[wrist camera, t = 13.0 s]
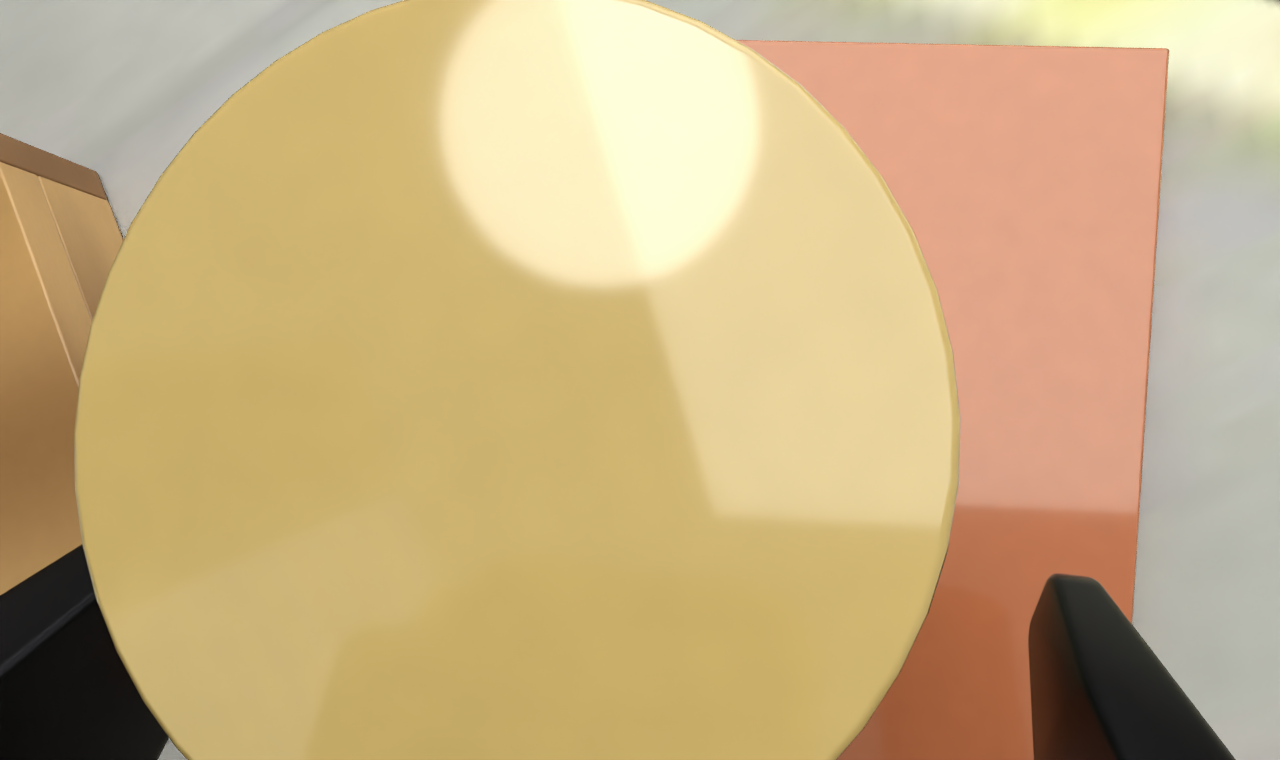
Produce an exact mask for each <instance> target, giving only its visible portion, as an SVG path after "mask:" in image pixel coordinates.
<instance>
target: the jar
mask: <svg viewBox="0 0 1280 760" xmlns="http://www.w3.org/2000/svg"><path fill="white" fill-rule="evenodd" d="M960 433H961V414H960V405H959V396H958V387H957V378H956V369H955V360H954V352H953V348H952V344H951V340H950V336H949V332H948V328H947V324H946V320H945V316H944V312H943V308H942V304H941V301H940V297H939V293H938V289H937V287H936V284H935V282H934V279H933V277H932V274H931V272H930V269H929V267H928V264H927V262H926V259H925V257H924V255H923V252H922V250H921V247H920V245H919V242H918V240H917V237H916V235H915V232H914V230H913V228H912V227H911V225H910V223H909V221H908V220H907V218H906V216H905V214H904V213H903V211H902V209H901V207H900V206H899V204H898V202H897V200H896V199H895V197H894V195H893V194H892V192H891V190H890V188H889V187H888V185H887V183H886V181H885V180H884V178H883V176H882V175H881V174H880V172H879V171H878V170H877V168H876V167H875V166H874V165H873V163H872V162H871V161H870V159H869V158H868V157H867V156H866V154H865V153H864V152H863V150H862V149H861V148H860V146H859V145H858V144H857V143H856V141H855V140H854V139H853V137H852V136H851V135H850V134H849V132H848V131H847V130H846V128H845V127H844V126H843V125H842V124H841V123H840V122H839V121H838V120H837V119H836V118H835V117H834V116H832V115H831V114H830V113H829V112H828V111H827V110H826V109H825V108H824V107H823V106H822V105H821V104H820V103H819V102H818V101H817V100H816V99H815V98H814V97H813V96H812V95H811V94H810V93H809V92H808V91H807V90H806V89H805V88H804V87H803V86H802V85H801V84H799V83H798V82H796V81H795V80H794V79H792V78H791V77H790V76H788V75H787V74H786V73H784V72H783V71H782V70H780V69H779V68H778V67H776V66H775V65H773V64H772V63H771V62H769V61H768V60H767V59H765V58H764V57H763V56H761V55H760V54H759V53H757V52H756V51H755V50H753V49H751V48H749V47H747V46H746V45H744V44H742V43H740V42H738V41H736V40H735V39H733V38H731V37H729V36H727V35H725V34H724V33H722V32H720V31H718V30H716V29H714V28H713V27H711V26H709V25H707V24H705V23H703V22H701V21H699V20H696V19H693V18H691V17H688V16H685V15H683V14H680V13H678V12H675V11H672V10H670V9H667V8H664V7H662V6H659V5H656V4H654V3H651V2H648V1H646V0H404V1H400V2H397V3H394V4H391V5H387V6H384V7H381V8H378V9H374V10H371V11H369V12H367V13H365V14H363V15H360V16H358V17H356V18H354V19H351V20H349V21H347V22H345V23H343V24H340V25H338V26H336V27H334V28H331V29H329V30H327V31H325V32H323V33H321V34H319V35H318V36H316V37H314V38H313V39H311V40H309V41H308V42H306V43H304V44H303V45H301V46H299V47H298V48H296V49H295V50H293V51H291V52H290V53H288V54H286V55H285V56H283V57H281V58H280V59H278V60H276V61H275V62H274V63H272V64H271V65H270V66H269V67H267V68H266V69H265V70H264V71H262V72H261V73H260V74H258V75H257V76H256V77H255V78H253V79H252V80H251V81H250V82H248V83H247V84H246V85H245V86H243V87H242V88H241V89H239V90H238V91H237V92H236V93H234V94H233V95H232V96H231V97H230V98H229V99H228V100H227V101H226V102H225V103H224V104H223V105H222V106H221V107H220V108H219V109H218V110H217V111H216V112H215V113H214V114H213V115H212V116H211V117H210V118H209V119H208V120H207V121H206V122H205V123H204V124H203V125H202V126H201V127H200V128H199V129H198V130H197V131H196V132H195V133H194V134H193V135H192V137H191V138H190V139H189V141H188V142H187V143H186V144H185V146H184V147H183V148H182V149H181V151H180V152H179V153H178V155H177V156H176V157H175V158H174V160H173V161H172V162H171V163H170V165H169V166H168V167H167V168H166V170H165V171H164V172H163V174H162V175H161V176H160V178H159V179H158V181H157V182H156V184H155V186H154V187H153V189H152V191H151V192H150V194H149V195H148V197H147V199H146V200H145V202H144V204H143V205H142V207H141V208H140V210H139V212H138V213H137V215H136V217H135V218H134V220H133V221H132V223H131V225H130V227H129V230H128V232H127V234H126V236H125V238H124V240H123V242H122V245H121V247H120V249H119V251H118V253H117V255H116V257H115V259H114V262H113V264H112V266H111V268H110V270H109V272H108V275H107V278H106V281H105V284H104V287H103V290H102V293H101V296H100V299H99V302H98V305H97V308H96V311H95V314H94V317H93V320H92V323H91V326H90V331H89V336H88V340H87V345H86V350H85V354H84V359H83V364H82V368H81V373H80V378H79V387H78V398H77V408H76V418H75V428H74V463H75V493H76V501H77V508H78V516H79V523H80V531H81V538H82V545H83V549H84V553H85V557H86V561H87V565H88V568H89V572H90V576H91V580H92V584H93V588H94V592H95V596H96V599H97V602H98V605H99V607H100V610H101V612H102V615H103V617H104V620H105V623H106V625H107V628H108V630H109V633H110V636H111V638H112V641H113V643H114V646H115V648H116V651H117V653H118V655H119V657H120V658H121V660H122V662H123V664H124V666H125V668H126V670H127V672H128V673H129V675H130V677H131V679H132V681H133V683H134V685H135V687H136V688H137V690H138V692H139V694H140V696H141V698H142V700H143V701H144V703H145V704H146V706H147V707H148V708H149V710H150V711H151V713H152V714H153V715H154V717H155V718H156V720H157V721H158V723H159V724H160V725H161V727H162V728H163V730H164V731H165V732H166V734H167V735H168V737H169V738H170V740H171V741H172V742H173V744H174V745H175V747H176V748H177V749H178V750H179V751H180V752H181V753H182V754H183V755H184V757H185V758H186V759H187V760H837V759H838V758H839V757H840V756H841V755H842V754H843V752H844V751H845V750H846V749H847V748H848V747H849V746H850V744H851V743H852V742H853V741H854V740H855V739H856V738H857V736H858V735H859V734H860V733H861V732H862V731H863V730H864V728H865V727H866V725H867V724H868V722H869V721H870V719H871V718H872V716H873V714H874V713H875V711H876V710H877V708H878V707H879V705H880V704H881V702H882V701H883V699H884V698H885V696H886V695H887V693H888V692H889V690H890V688H891V687H892V685H893V684H894V682H895V681H896V679H897V678H898V676H899V675H900V673H901V671H902V669H903V667H904V664H905V662H906V660H907V658H908V656H909V654H910V652H911V650H912V647H913V645H914V643H915V641H916V639H917V637H918V635H919V633H920V630H921V628H922V626H923V624H924V622H925V620H926V618H927V616H928V613H929V610H930V607H931V604H932V601H933V597H934V594H935V591H936V588H937V584H938V581H939V578H940V575H941V572H942V568H943V565H944V562H945V559H946V555H947V552H948V548H949V542H950V536H951V530H952V524H953V518H954V512H955V506H956V500H957V494H958V488H959V470H960Z"/></svg>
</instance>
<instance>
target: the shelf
mask: <svg viewBox="0 0 1280 760" xmlns="http://www.w3.org/2000/svg"><path fill="white" fill-rule="evenodd" d="M122 242H123V238H122V235H121V233H120V230H119V228H118V225H117V222H116V220H115V217H114V215H113V212H112V209H111V207H110V204H109V202H108V201H107V197H106V194H105V191H104V189H103V186H102V184H101V181H100V178H99V176H98V173H97V172H96V171H93V170H91V169H88V168H86V167H83V166H81V165H78V164H76V163H73V162H71V161H68V160H66V159H63V158H61V157H58V156H56V155H53V154H51V153H48V152H46V151H43V150H41V149H38V148H36V147H33V146H31V145H28V144H26V143H23V142H21V141H18V140H16V139H13V138H11V137H8V136H6V135H3V134H1V133H0V595H1V594H3V593H5V592H6V591H8V590H9V589H11V588H13V587H14V586H16V585H17V584H19V583H21V582H22V581H24V580H25V579H27V578H29V577H30V576H32V575H33V574H35V573H37V572H38V571H40V570H41V569H43V568H45V567H46V566H48V565H49V564H51V563H53V562H54V561H56V560H57V559H59V558H61V557H62V556H64V555H65V554H67V553H69V552H70V551H72V550H73V549H75V548H77V547H78V546H80V545H81V544H82V538H81V531H80V523H79V516H78V508H77V501H76V493H75V463H74V428H75V418H76V408H77V398H78V387H79V378H80V373H81V368H82V364H83V359H84V354H85V350H86V345H87V340H88V336H89V331H90V326H91V323H92V320H93V317H94V314H95V311H96V308H97V305H98V302H99V299H100V296H101V293H102V290H103V287H104V284H105V281H106V278H107V275H108V272H109V270H110V268H111V266H112V264H113V262H114V259H115V257H116V255H117V253H118V251H119V249H120V247H121V245H122Z"/></svg>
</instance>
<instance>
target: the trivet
mask: <svg viewBox="0 0 1280 760" xmlns="http://www.w3.org/2000/svg"><path fill="white" fill-rule="evenodd" d="M736 41H738V42H740V43H742V44H744V45H746V46H747V47H749V48H751V49H753V50H755V51H756V52H757V53H759V54H760V55H761V56H763V57H764V58H765V59H767V60H768V61H769V62H771V63H772V64H773V65H775V66H776V67H778V68H779V69H780V70H782V71H783V72H784V73H786V74H787V75H788V76H790V77H791V78H792V79H794V80H795V81H796V82H798V83H799V84H801V85H802V86H803V87H804V88H805V89H806V90H807V91H808V92H809V93H810V94H811V95H812V96H813V97H814V98H815V99H816V100H817V101H818V102H819V103H820V104H821V105H822V106H823V107H824V108H825V109H826V110H827V111H828V112H829V113H830V114H831V115H832V116H834V117H835V118H836V119H837V120H838V121H839V122H840V123H841V124H842V125H843V126H844V127H845V128H846V130H847V131H848V132H849V134H850V135H851V136H852V137H853V139H854V140H855V141H856V143H857V144H858V145H859V146H860V148H861V149H862V150H863V152H864V153H865V154H866V156H867V157H868V158H869V159H870V161H871V162H872V163H873V165H874V166H875V167H876V168H877V170H878V171H879V172H880V174H881V175H882V176H883V178H884V180H885V181H886V183H887V185H888V187H889V188H890V190H891V192H892V194H893V195H894V197H895V199H896V200H897V202H898V204H899V206H900V207H901V209H902V211H903V213H904V214H905V216H906V218H907V220H908V221H909V223H910V225H911V227H912V228H913V230H914V232H915V235H916V237H917V240H918V242H919V245H920V247H921V250H922V252H923V255H924V257H925V259H926V262H927V264H928V267H929V269H930V272H931V274H932V277H933V279H934V282H935V284H936V287H937V289H938V293H939V297H940V301H941V304H942V308H943V312H944V316H945V320H946V324H947V328H948V332H949V336H950V340H951V344H952V348H953V352H954V360H955V369H956V378H957V387H958V396H959V405H960V414H961V433H960V470H959V488H958V494H957V500H956V506H955V512H954V518H953V524H952V530H951V536H950V542H949V548H948V552H947V555H946V559H945V562H944V565H943V568H942V572H941V575H940V578H939V581H938V584H937V588H936V591H935V594H934V597H933V601H932V604H931V607H930V610H929V613H928V616H927V618H926V620H925V622H924V624H923V626H922V628H921V630H920V633H919V635H918V637H917V639H916V641H915V643H914V645H913V647H912V650H911V652H910V654H909V656H908V658H907V660H906V662H905V664H904V667H903V669H902V671H901V673H900V675H899V676H898V678H897V679H896V681H895V682H894V684H893V685H892V687H891V688H890V690H889V692H888V693H887V695H886V696H885V698H884V699H883V701H882V702H881V704H880V705H879V707H878V708H877V710H876V711H875V713H874V714H873V716H872V718H871V719H870V721H869V722H868V724H867V725H866V727H865V728H864V730H863V731H862V732H861V733H860V734H859V735H858V736H857V738H856V739H855V740H854V741H853V742H852V743H851V744H850V746H849V747H848V748H847V749H846V750H845V751H844V752H843V754H842V755H841V756H840V757H839V758H838V759H837V760H1034V753H1033V732H1032V711H1031V690H1030V669H1029V649H1028V634H1029V626H1030V621H1031V618H1032V616H1033V613H1034V611H1035V608H1036V606H1037V603H1038V601H1039V598H1040V596H1041V593H1042V590H1043V588H1044V585H1045V583H1046V581H1047V579H1048V578H1049V577H1050V576H1051V575H1052V574H1054V573H1062V574H1070V575H1079V576H1087V577H1091V578H1093V579H1095V580H1097V581H1098V582H1099V583H1100V584H1101V585H1102V586H1103V587H1104V589H1105V590H1106V591H1107V593H1108V594H1109V595H1110V596H1111V598H1112V599H1113V600H1114V602H1115V603H1116V604H1117V606H1118V607H1119V608H1120V610H1121V611H1122V612H1123V613H1124V615H1125V616H1126V617H1127V619H1128V620H1129V621H1130V623H1131V624H1132V616H1133V600H1134V585H1135V569H1136V554H1137V539H1138V523H1139V508H1140V492H1141V477H1142V461H1143V446H1144V430H1145V415H1146V400H1147V384H1148V369H1149V353H1150V338H1151V322H1152V307H1153V291H1154V276H1155V261H1156V245H1157V230H1158V214H1159V199H1160V183H1161V168H1162V152H1163V137H1164V122H1165V106H1166V91H1167V75H1168V60H1169V49H1165V48H1114V47H1063V46H1012V45H960V44H909V43H858V42H806V41H755V40H736Z"/></svg>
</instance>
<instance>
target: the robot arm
mask: <svg viewBox="0 0 1280 760" xmlns="http://www.w3.org/2000/svg"><path fill="white" fill-rule="evenodd" d="M1028 649H1029V669H1030V690H1031V711H1032V732H1033V753H1034V760H1236V759H1235V758H1234V757H1233V756H1232V754H1231V753H1230V752H1229V750H1228V749H1227V748H1226V746H1225V745H1224V744H1223V743H1222V741H1221V740H1220V739H1219V737H1218V736H1217V735H1216V733H1215V732H1214V731H1213V729H1212V728H1211V727H1210V726H1209V724H1208V723H1207V722H1206V720H1205V719H1204V718H1203V716H1202V715H1201V714H1200V713H1199V711H1198V710H1197V709H1196V707H1195V706H1194V705H1193V703H1192V702H1191V701H1190V700H1189V698H1188V697H1187V696H1186V694H1185V693H1184V692H1183V690H1182V689H1181V688H1180V686H1179V685H1178V684H1177V683H1176V681H1175V680H1174V679H1173V677H1172V676H1171V675H1170V673H1169V672H1168V671H1167V670H1166V668H1165V667H1164V666H1163V664H1162V663H1161V662H1160V660H1159V659H1158V658H1157V656H1156V655H1155V654H1154V653H1153V651H1152V650H1151V649H1150V647H1149V646H1148V645H1147V643H1146V642H1145V641H1144V640H1143V638H1142V637H1141V636H1140V634H1139V633H1138V632H1137V630H1136V629H1135V628H1134V626H1133V625H1132V624H1131V623H1130V621H1129V620H1128V619H1127V617H1126V616H1125V615H1124V613H1123V612H1122V611H1121V610H1120V608H1119V607H1118V606H1117V604H1116V603H1115V602H1114V600H1113V599H1112V598H1111V596H1110V595H1109V594H1108V593H1107V591H1106V590H1105V589H1104V587H1103V586H1102V585H1101V584H1100V583H1099V582H1098V581H1097V580H1095V579H1093V578H1091V577H1087V576H1079V575H1070V574H1062V573H1054V574H1052V575H1051V576H1050V577H1049V578H1048V579H1047V581H1046V583H1045V585H1044V588H1043V590H1042V593H1041V596H1040V598H1039V601H1038V603H1037V606H1036V608H1035V611H1034V613H1033V616H1032V618H1031V621H1030V626H1029V634H1028ZM168 738H169V737H168V735H167V734H166V732H165V731H164V730H163V728H162V727H161V725H160V724H159V723H158V721H157V720H156V718H155V717H154V715H153V714H152V713H151V711H150V710H149V708H148V707H147V706H146V704H145V703H144V701H143V700H142V698H141V696H140V694H139V692H138V690H137V688H136V687H135V685H134V683H133V681H132V679H131V677H130V675H129V673H128V672H127V670H126V668H125V666H124V664H123V662H122V660H121V658H120V657H119V655H118V653H117V651H116V648H115V646H114V643H113V641H112V638H111V636H110V633H109V630H108V628H107V625H106V623H105V620H104V617H103V615H102V612H101V610H100V607H99V605H98V602H97V599H96V596H95V592H94V588H93V584H92V580H91V576H90V572H89V568H88V565H87V561H86V557H85V553H84V549H83V545H82V544H81V545H80V546H78V547H77V548H75V549H73V550H72V551H70V552H69V553H67V554H65V555H64V556H62V557H61V558H59V559H57V560H56V561H54V562H53V563H51V564H49V565H48V566H46V567H45V568H43V569H41V570H40V571H38V572H37V573H35V574H33V575H32V576H30V577H29V578H27V579H25V580H24V581H22V582H21V583H19V584H17V585H16V586H14V587H13V588H11V589H9V590H8V591H6V592H5V593H3V594H1V595H0V760H158V758H159V756H160V754H161V752H162V750H163V748H164V746H165V744H166V742H167V740H168Z"/></svg>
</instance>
